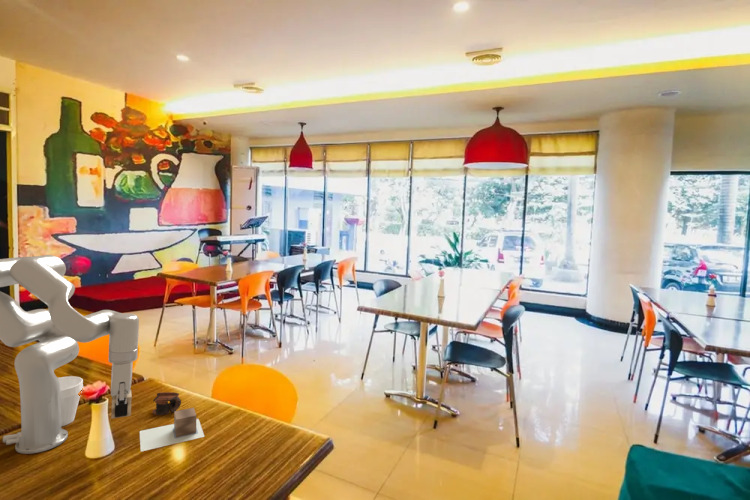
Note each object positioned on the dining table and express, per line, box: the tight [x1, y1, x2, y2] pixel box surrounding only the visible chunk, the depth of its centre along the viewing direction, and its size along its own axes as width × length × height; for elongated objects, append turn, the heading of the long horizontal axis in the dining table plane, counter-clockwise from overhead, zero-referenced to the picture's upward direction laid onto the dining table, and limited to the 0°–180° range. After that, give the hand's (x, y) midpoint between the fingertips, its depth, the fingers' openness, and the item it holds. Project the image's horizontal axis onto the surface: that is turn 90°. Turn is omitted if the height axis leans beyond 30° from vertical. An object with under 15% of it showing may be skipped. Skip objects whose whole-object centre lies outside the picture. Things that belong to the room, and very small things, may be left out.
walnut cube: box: [173, 407, 197, 437], centre depth 134 cm, size 6×6×6 cm
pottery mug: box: [152, 391, 182, 416], centre depth 148 cm, size 12×10×8 cm
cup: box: [57, 375, 84, 427], centre depth 137 cm, size 12×12×14 cm
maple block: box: [110, 389, 133, 419], centre depth 124 cm, size 5×5×6 cm
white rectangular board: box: [139, 418, 205, 452], centre depth 132 cm, size 18×13×1 cm
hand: (121, 411), depth 124 cm, fingers closed on maple block, 5 cm apart
